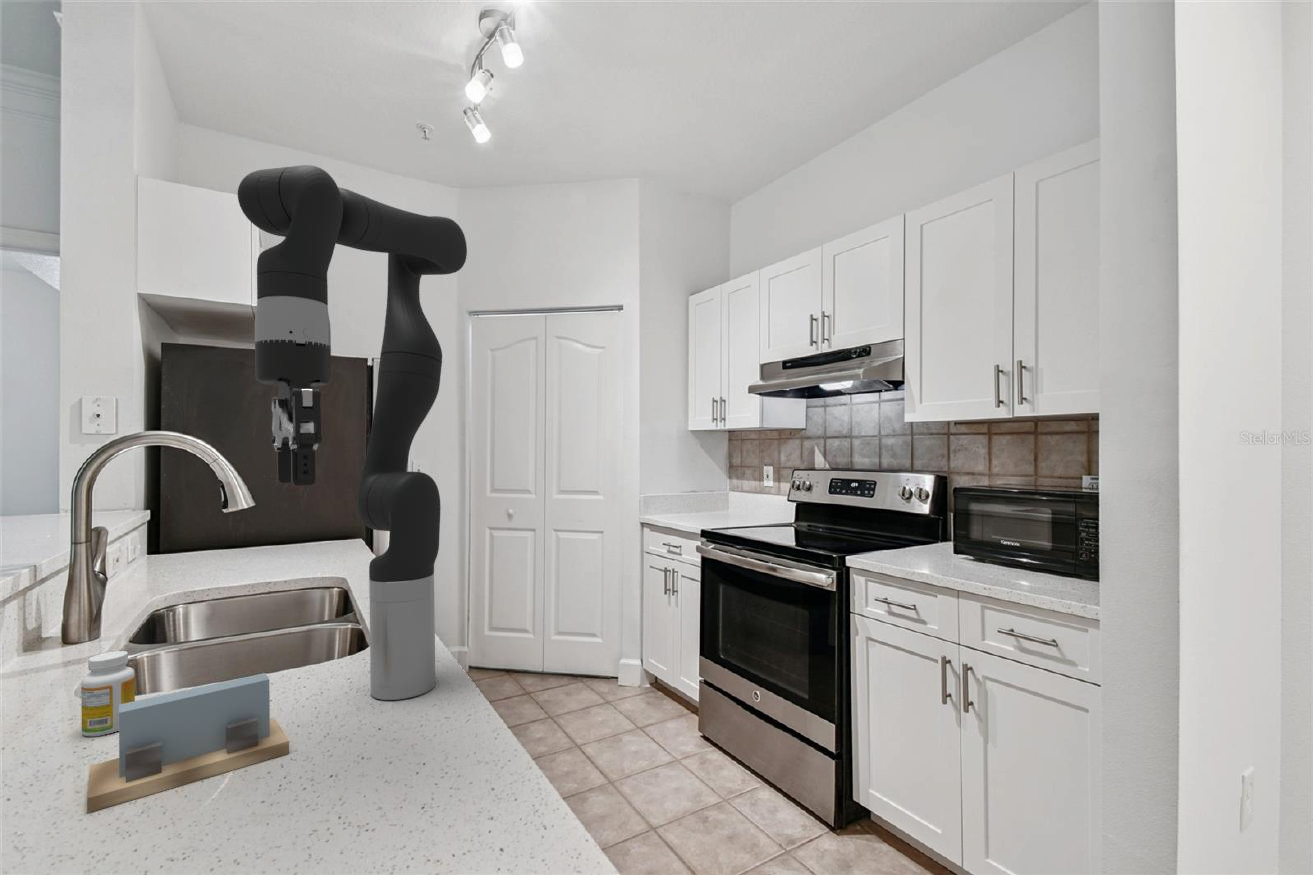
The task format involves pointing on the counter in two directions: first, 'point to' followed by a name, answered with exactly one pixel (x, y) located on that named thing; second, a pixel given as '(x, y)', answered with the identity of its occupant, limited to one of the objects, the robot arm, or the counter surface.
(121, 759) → the blue grey rectangular block
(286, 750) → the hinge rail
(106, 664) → the supplement bottle
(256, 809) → the counter surface
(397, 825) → the counter surface
